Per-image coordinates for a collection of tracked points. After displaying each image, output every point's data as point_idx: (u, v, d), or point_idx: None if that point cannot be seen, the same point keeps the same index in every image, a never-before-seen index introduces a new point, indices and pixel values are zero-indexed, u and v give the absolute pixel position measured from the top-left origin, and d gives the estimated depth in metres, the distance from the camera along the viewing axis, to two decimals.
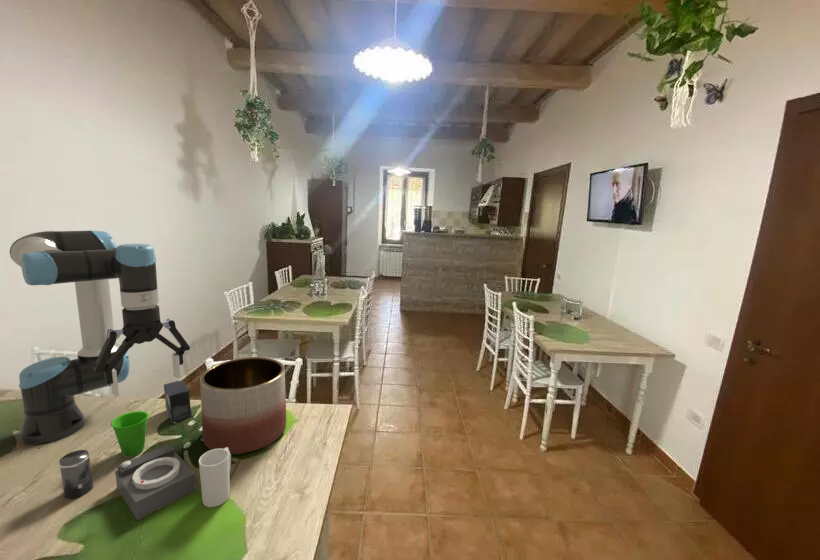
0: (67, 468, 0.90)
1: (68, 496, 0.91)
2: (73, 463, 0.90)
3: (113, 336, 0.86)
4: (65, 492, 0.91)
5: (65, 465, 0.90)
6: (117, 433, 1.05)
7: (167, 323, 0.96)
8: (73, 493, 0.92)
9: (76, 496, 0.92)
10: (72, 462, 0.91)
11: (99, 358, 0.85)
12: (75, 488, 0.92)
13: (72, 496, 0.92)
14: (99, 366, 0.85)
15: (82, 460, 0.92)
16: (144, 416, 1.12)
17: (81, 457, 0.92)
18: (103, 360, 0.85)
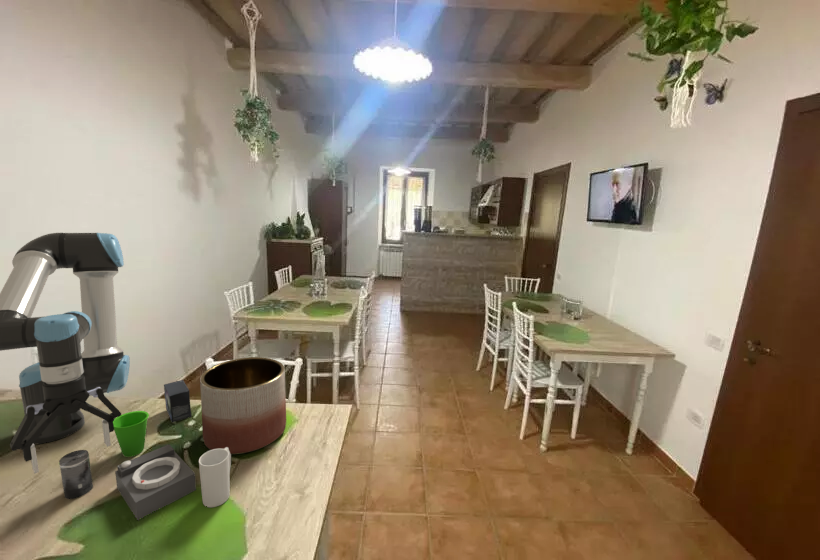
0: (67, 468, 0.90)
1: (68, 496, 0.91)
2: (73, 463, 0.90)
3: (31, 412, 0.84)
4: (65, 492, 0.91)
5: (64, 465, 0.90)
6: (117, 433, 1.05)
7: (94, 392, 0.93)
8: (73, 493, 0.92)
9: (76, 496, 0.92)
10: (72, 462, 0.91)
11: (16, 435, 0.83)
12: (75, 488, 0.92)
13: (72, 496, 0.92)
14: (15, 444, 0.83)
15: (81, 460, 0.92)
16: (144, 416, 1.12)
17: (81, 457, 0.92)
18: (19, 438, 0.83)
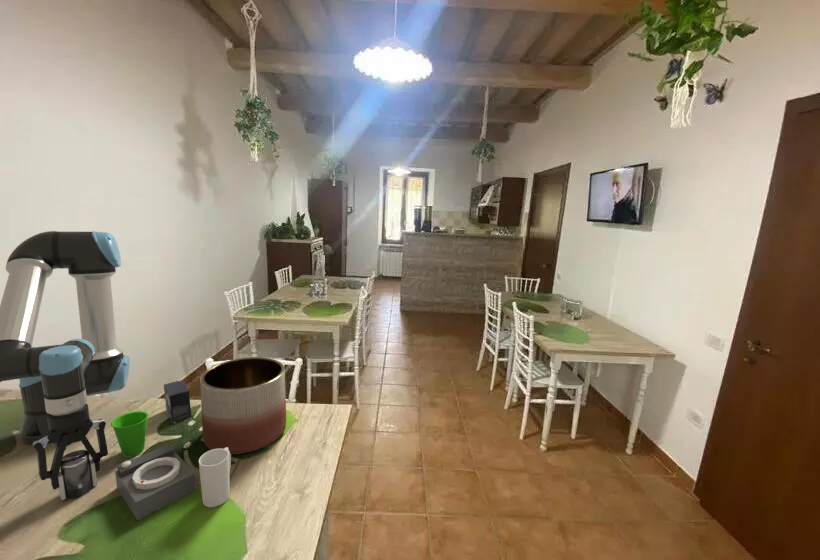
0: (67, 468, 0.90)
1: (68, 496, 0.91)
2: (73, 463, 0.90)
3: (39, 448, 0.86)
4: (65, 492, 0.91)
5: (65, 465, 0.90)
6: (117, 433, 1.05)
7: (98, 423, 0.95)
8: (73, 493, 0.92)
9: (76, 496, 0.92)
10: (72, 462, 0.91)
11: (39, 468, 0.87)
12: (75, 488, 0.92)
13: (72, 496, 0.92)
14: (42, 475, 0.87)
15: (82, 460, 0.92)
16: (144, 416, 1.12)
17: (81, 457, 0.92)
18: (43, 469, 0.87)
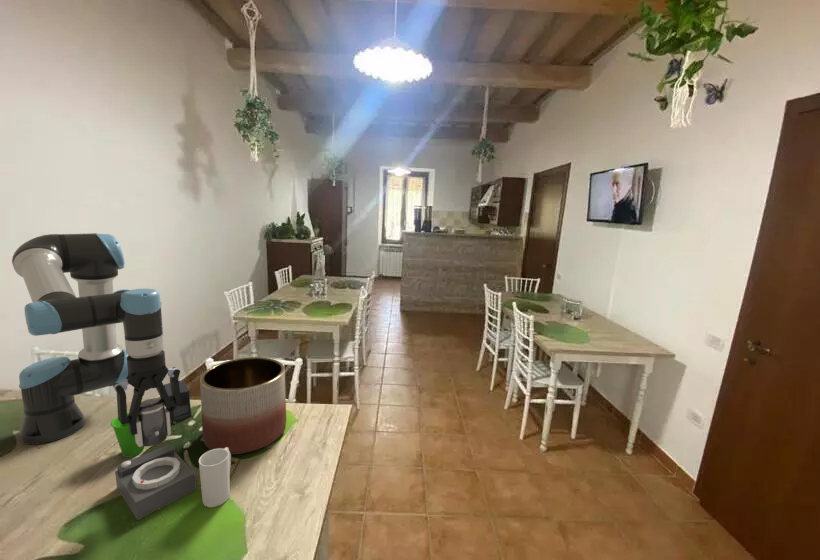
0: (145, 414, 0.88)
1: (145, 443, 0.90)
2: (151, 409, 0.89)
3: (120, 390, 0.84)
4: (142, 439, 0.90)
5: (143, 411, 0.88)
6: (117, 433, 1.05)
7: (172, 371, 0.93)
8: (150, 440, 0.90)
9: (153, 443, 0.90)
10: (150, 408, 0.89)
11: (119, 412, 0.85)
12: (152, 435, 0.90)
13: (149, 443, 0.90)
14: (122, 419, 0.85)
15: (159, 406, 0.90)
16: None
17: (157, 404, 0.91)
18: (123, 413, 0.85)
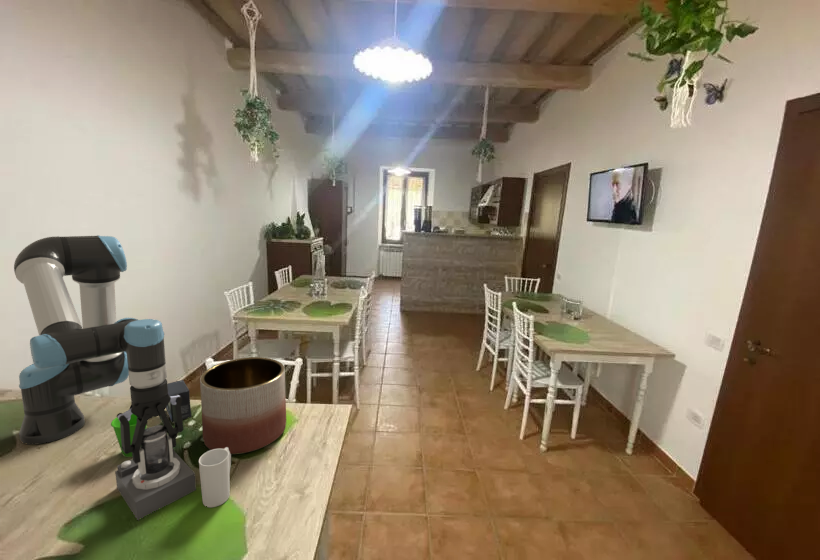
0: (148, 442, 0.90)
1: (148, 470, 0.91)
2: (154, 437, 0.90)
3: (124, 421, 0.86)
4: (145, 467, 0.91)
5: (146, 439, 0.89)
6: (117, 433, 1.05)
7: (175, 399, 0.95)
8: (153, 468, 0.91)
9: (156, 471, 0.92)
10: (153, 436, 0.90)
11: (123, 441, 0.87)
12: (155, 463, 0.91)
13: (152, 471, 0.91)
14: (126, 448, 0.87)
15: (161, 434, 0.91)
16: None
17: (160, 431, 0.92)
18: (127, 442, 0.87)
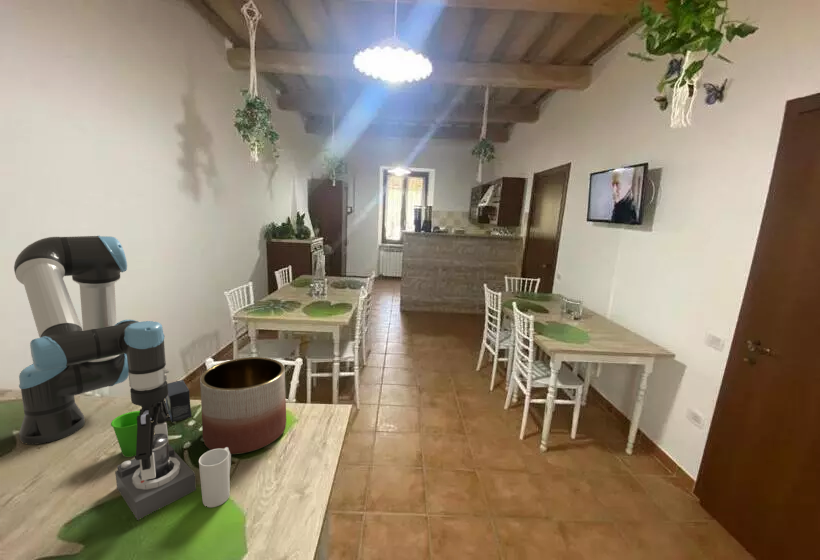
0: (162, 447, 0.92)
1: (162, 475, 0.93)
2: (166, 440, 0.93)
3: (150, 419, 0.86)
4: (158, 474, 0.92)
5: (160, 445, 0.91)
6: (117, 433, 1.05)
7: None
8: (166, 470, 0.94)
9: None
10: (164, 440, 0.93)
11: (143, 445, 0.84)
12: (167, 465, 0.94)
13: (165, 474, 0.94)
14: (148, 452, 0.84)
15: None
16: None
17: (162, 436, 0.94)
18: (149, 445, 0.85)
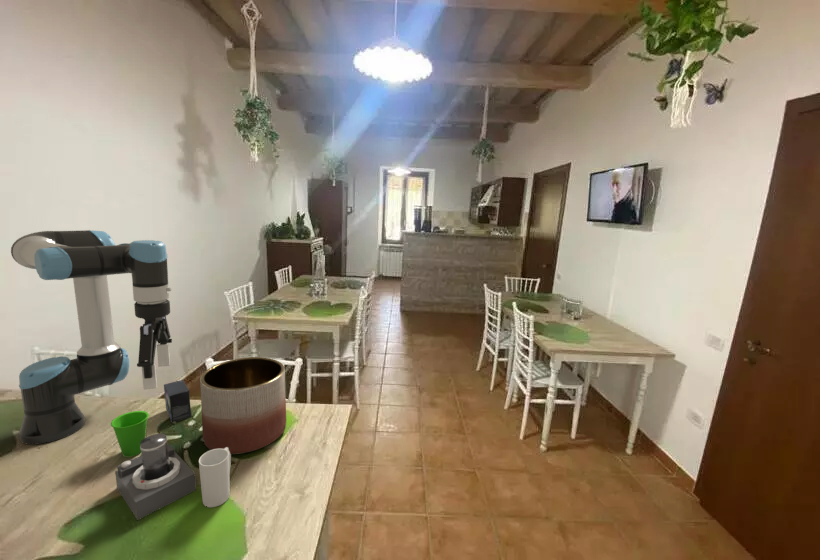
0: (161, 447, 0.92)
1: (162, 475, 0.93)
2: (164, 440, 0.93)
3: (152, 330, 0.90)
4: (158, 474, 0.92)
5: (159, 445, 0.91)
6: (117, 433, 1.05)
7: None
8: (166, 470, 0.94)
9: (168, 472, 0.94)
10: (163, 440, 0.93)
11: (145, 354, 0.88)
12: (167, 465, 0.94)
13: (165, 474, 0.94)
14: (150, 360, 0.88)
15: None
16: (144, 416, 1.12)
17: (161, 436, 0.94)
18: (151, 354, 0.89)
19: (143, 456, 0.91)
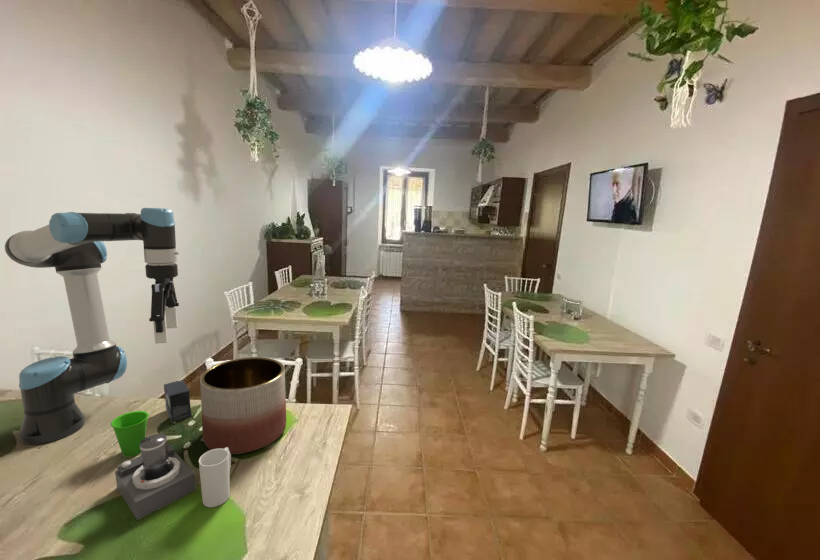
0: (160, 447, 0.92)
1: (162, 475, 0.93)
2: (164, 440, 0.93)
3: (162, 288, 0.98)
4: (157, 474, 0.92)
5: (159, 445, 0.91)
6: (117, 433, 1.05)
7: None
8: (165, 470, 0.94)
9: (167, 472, 0.94)
10: (162, 440, 0.93)
11: (157, 309, 0.96)
12: (166, 465, 0.94)
13: (165, 474, 0.94)
14: (161, 315, 0.97)
15: None
16: (144, 416, 1.12)
17: (161, 436, 0.94)
18: (162, 309, 0.97)
19: (143, 456, 0.91)
